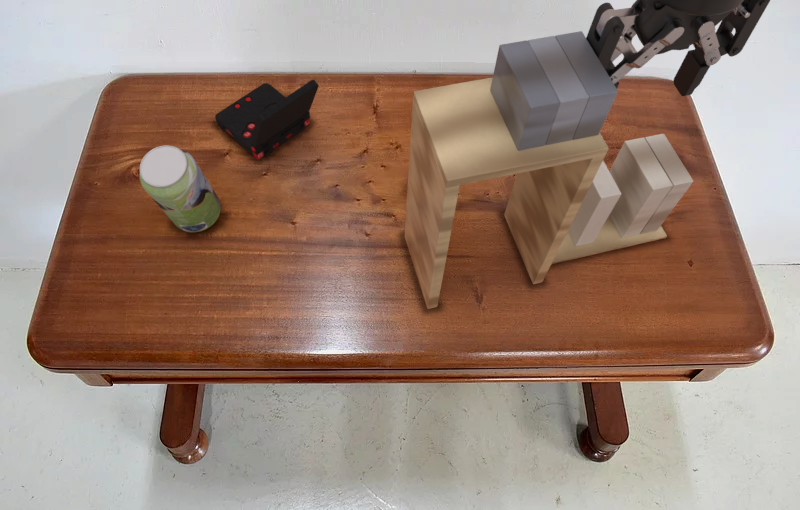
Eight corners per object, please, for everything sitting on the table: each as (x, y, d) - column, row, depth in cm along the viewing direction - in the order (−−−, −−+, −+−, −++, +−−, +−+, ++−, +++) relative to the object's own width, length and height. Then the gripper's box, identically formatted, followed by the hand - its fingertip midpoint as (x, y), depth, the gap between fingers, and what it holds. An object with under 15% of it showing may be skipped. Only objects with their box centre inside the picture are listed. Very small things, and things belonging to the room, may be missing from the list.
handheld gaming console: (269, 88, 85) (256, 30, 76) (327, 135, 81) (321, 79, 72) (214, 124, 81) (194, 67, 73) (273, 175, 77) (259, 121, 69)
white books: (665, 238, 74) (705, 186, 65) (544, 266, 72) (567, 216, 63) (633, 180, 78) (666, 125, 69) (517, 205, 76) (535, 151, 67)
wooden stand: (542, 282, 71) (631, 104, 45) (427, 309, 68) (453, 138, 43) (512, 213, 75) (578, 17, 50) (404, 236, 73) (415, 44, 48)
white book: (593, 242, 73) (621, 193, 64) (574, 246, 73) (601, 198, 64) (570, 196, 76) (594, 144, 68) (553, 200, 76) (574, 148, 67)
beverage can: (227, 195, 76) (202, 130, 65) (216, 246, 72) (188, 185, 62) (176, 193, 76) (144, 128, 65) (163, 244, 72) (126, 183, 61)
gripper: (652, -25, 39) (584, 142, 53) (844, -58, 41) (730, 112, 55) (603, -90, 43) (552, 83, 57) (782, -118, 45) (690, 56, 59)
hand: (640, 97), depth 56 cm, fingers open, 8 cm apart
